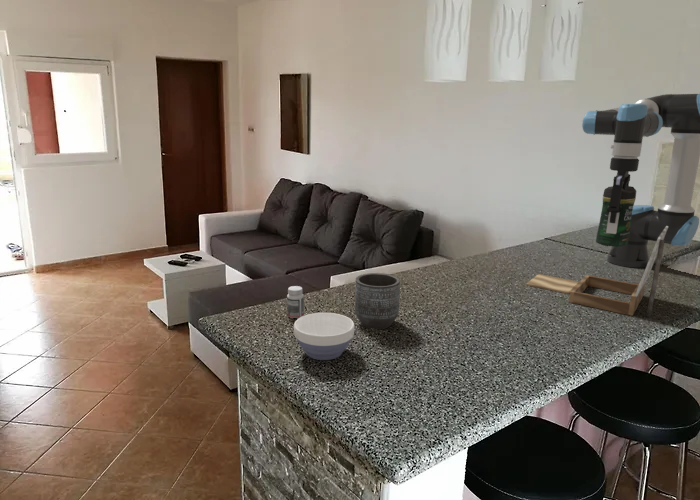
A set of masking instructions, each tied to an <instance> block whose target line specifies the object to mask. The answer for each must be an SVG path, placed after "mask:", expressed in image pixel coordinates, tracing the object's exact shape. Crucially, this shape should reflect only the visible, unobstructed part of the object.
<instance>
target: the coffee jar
mask: <svg viewBox="0 0 700 500" xmlns="http://www.w3.org/2000/svg"><path fill="white" fill-rule="evenodd" d="M612 188H613V185H612V186H608V187H606V188H604V191H603V194H602V206H601V212H600V219H599V224H598V229H597V233H596V238H595V242H596V244H599V245H600V246H603V247H612V246H613V247H620V246H625V245H627V244H628V240H629V233H630V224H631V217H632V210H633V206H634V205H635V202H636V197H637V190H636V188H634V186H631V185H630V186H626V189H625V190H623V189H622V192H621V198H620V199H621V202H620V208H619V219H618V226H617V232H616V234H611V233H606V230H607V223H608V217H609V212H607V209H608V208H609V204H610V199H611V194H612Z"/></svg>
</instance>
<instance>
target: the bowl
mask: <svg viewBox="0 0 700 500" xmlns="http://www.w3.org/2000/svg"><path fill="white" fill-rule="evenodd" d="M355 328H356V327H355V323H354V321H353V319H351V318H350V317H348V316H346V315H343V314H339V313H334V312H314V313H309V314H304V316H302V317H300V318H297V320H295V321H294V324H293V333H294V336H295V339H296V341H297V343H298V344H299V346H300V347H301V349H302V350H303V351H304V352H305V354H306V356H307V357H309V358H310V359H314V360H316V361H317V360H318V361H331V360H335V359H337V358H339V357H341V356H342V354H343V352H344V351H345V350H346V349H347V348H348V346H349V344H350V343H351V341H352V340H353V338H354V335H355Z"/></svg>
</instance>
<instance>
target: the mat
mask: <svg viewBox="0 0 700 500" xmlns="http://www.w3.org/2000/svg"><path fill="white" fill-rule="evenodd" d="M579 282H580V281H577V280H572V279H568V278H562V277H556V276H551V275H546V274H542V273H541V274H540V273H537V274H536V275H535V276H534V277H532V279H530V280H529V281H527V282H526V283H525V286H529V287H533V288H537V289H544V290H549V291H553V292H558V293H563V294H569V295H570V291H571V290H572V289H573V288H574V287H575V286H576V285H577V284H578V283H579Z"/></svg>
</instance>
